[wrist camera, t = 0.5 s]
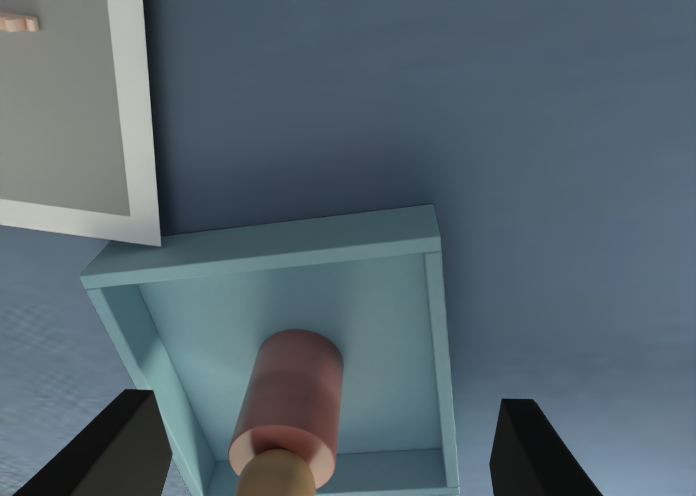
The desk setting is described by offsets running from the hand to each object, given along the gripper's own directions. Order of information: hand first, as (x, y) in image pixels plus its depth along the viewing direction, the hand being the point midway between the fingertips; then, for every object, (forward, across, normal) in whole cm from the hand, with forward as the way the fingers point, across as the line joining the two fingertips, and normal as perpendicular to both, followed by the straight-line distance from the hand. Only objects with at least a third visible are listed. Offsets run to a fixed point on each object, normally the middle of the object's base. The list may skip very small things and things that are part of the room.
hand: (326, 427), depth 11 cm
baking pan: (+10, +2, +8) cm, 13 cm away
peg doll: (+10, +2, +8) cm, 13 cm away
